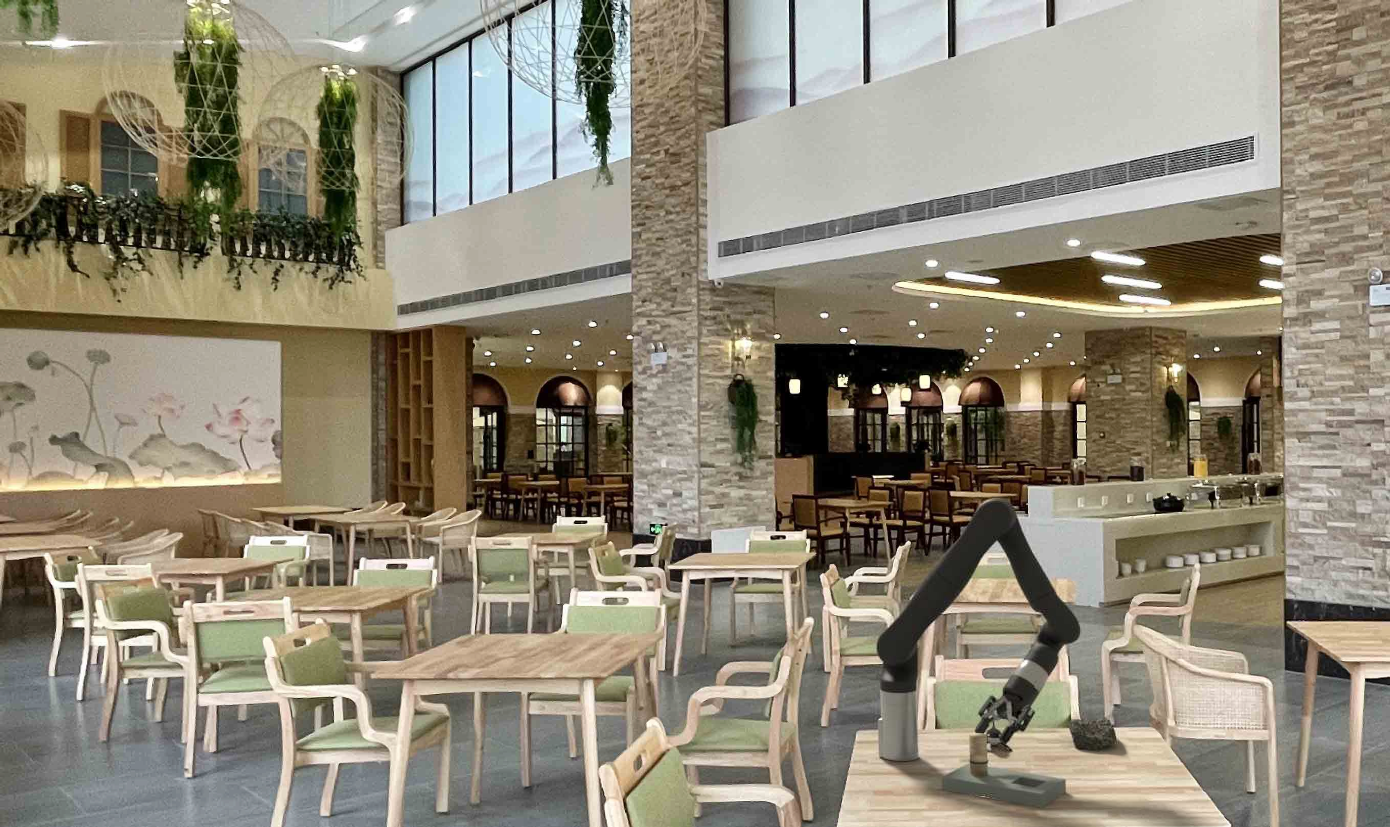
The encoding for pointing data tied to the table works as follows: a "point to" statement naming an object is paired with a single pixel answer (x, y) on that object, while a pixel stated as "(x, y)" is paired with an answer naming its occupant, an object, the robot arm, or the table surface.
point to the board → (1006, 785)
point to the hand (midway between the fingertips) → (989, 738)
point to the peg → (978, 754)
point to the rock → (1092, 732)
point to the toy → (994, 737)
